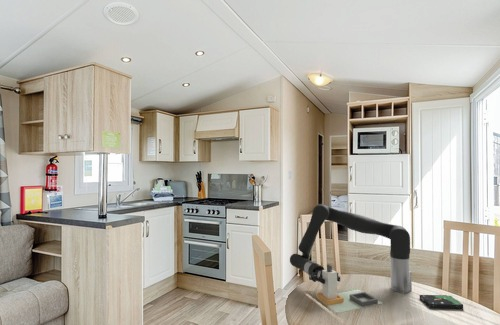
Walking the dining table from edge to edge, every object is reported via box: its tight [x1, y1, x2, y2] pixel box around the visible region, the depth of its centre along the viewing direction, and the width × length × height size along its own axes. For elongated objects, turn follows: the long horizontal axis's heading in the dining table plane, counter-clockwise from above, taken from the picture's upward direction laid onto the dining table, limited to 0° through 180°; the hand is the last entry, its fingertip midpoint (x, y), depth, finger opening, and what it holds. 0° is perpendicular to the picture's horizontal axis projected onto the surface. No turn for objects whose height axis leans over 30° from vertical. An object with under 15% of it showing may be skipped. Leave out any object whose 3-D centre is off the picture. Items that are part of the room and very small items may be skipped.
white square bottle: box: [322, 263, 338, 300], centre depth 145 cm, size 5×5×17 cm
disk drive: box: [419, 294, 464, 311], centre depth 141 cm, size 10×3×15 cm
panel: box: [315, 288, 383, 315], centre depth 144 cm, size 26×17×3 cm, turn 110°
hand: (332, 280), depth 143 cm, fingers open, 8 cm apart
